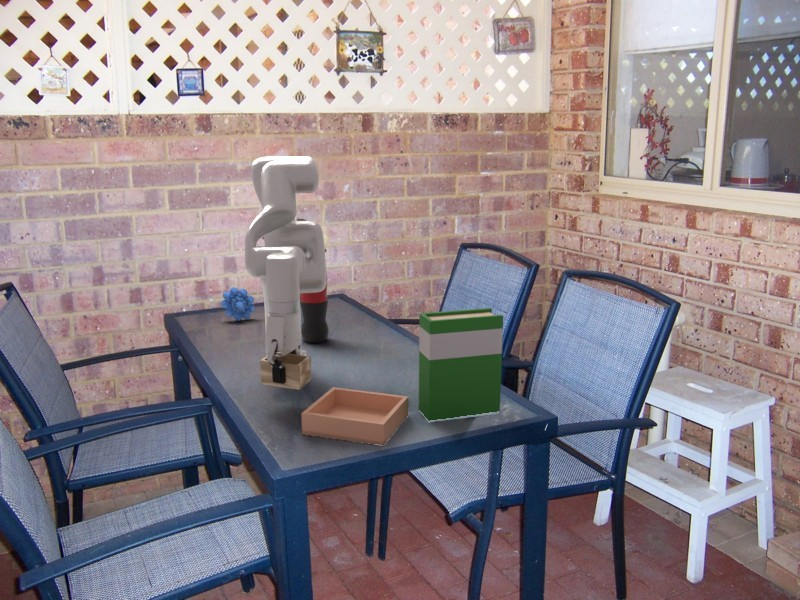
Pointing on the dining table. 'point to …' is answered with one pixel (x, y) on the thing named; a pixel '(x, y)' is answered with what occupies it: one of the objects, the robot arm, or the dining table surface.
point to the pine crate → (288, 371)
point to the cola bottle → (314, 316)
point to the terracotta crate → (355, 415)
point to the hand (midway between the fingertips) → (286, 376)
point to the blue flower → (238, 304)
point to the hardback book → (459, 363)
